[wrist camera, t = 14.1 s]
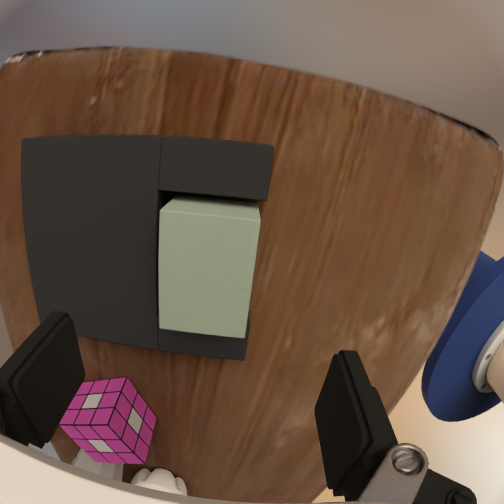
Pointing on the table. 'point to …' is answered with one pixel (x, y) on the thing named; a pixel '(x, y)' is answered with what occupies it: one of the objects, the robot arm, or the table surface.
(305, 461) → the table surface
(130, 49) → the table surface
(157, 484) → the water bottle
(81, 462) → the cup
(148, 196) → the base pad
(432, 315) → the table surface
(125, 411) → the puzzle toy
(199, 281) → the pale green block
